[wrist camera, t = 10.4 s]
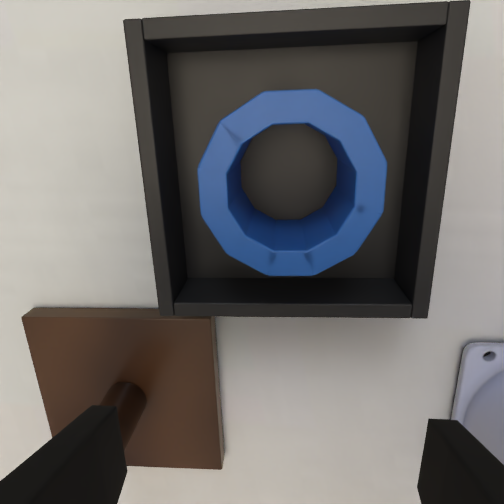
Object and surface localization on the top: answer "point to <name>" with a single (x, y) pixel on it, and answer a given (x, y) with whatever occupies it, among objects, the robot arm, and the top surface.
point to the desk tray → (297, 148)
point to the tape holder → (133, 379)
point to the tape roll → (317, 223)
